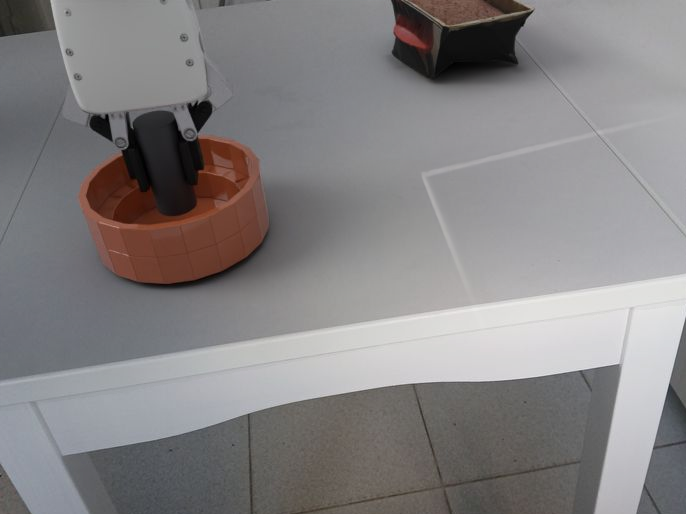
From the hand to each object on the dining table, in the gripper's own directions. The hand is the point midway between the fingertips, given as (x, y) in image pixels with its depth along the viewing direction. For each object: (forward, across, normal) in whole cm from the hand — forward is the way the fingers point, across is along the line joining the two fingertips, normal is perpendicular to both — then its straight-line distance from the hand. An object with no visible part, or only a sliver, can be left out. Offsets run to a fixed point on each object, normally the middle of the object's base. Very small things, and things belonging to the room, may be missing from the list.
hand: (169, 179), depth 62 cm
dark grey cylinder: (+3, 0, 0) cm, 3 cm away
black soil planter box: (+6, -32, -32) cm, 46 cm away
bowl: (+6, 0, 0) cm, 6 cm away
